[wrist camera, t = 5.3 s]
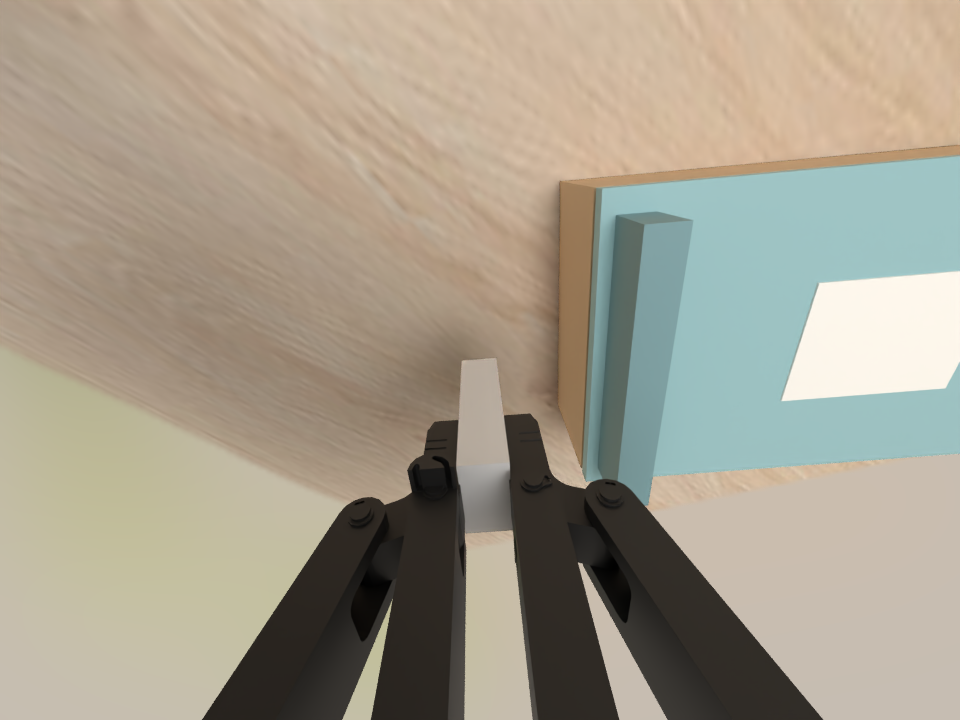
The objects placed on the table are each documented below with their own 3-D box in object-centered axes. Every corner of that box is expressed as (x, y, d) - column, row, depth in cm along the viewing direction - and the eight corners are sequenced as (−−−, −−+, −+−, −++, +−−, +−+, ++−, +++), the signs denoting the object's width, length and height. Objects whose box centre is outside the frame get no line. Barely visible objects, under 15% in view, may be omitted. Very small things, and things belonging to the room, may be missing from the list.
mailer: (557, 403, 29) (580, 467, 22) (560, 181, 22) (594, 187, 16) (859, 379, 28) (966, 438, 22) (957, 145, 21) (1150, 137, 15)
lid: (582, 471, 22) (600, 523, 19) (596, 187, 15) (628, 193, 12) (972, 441, 22) (1059, 489, 19) (1162, 136, 15) (1351, 128, 12)
